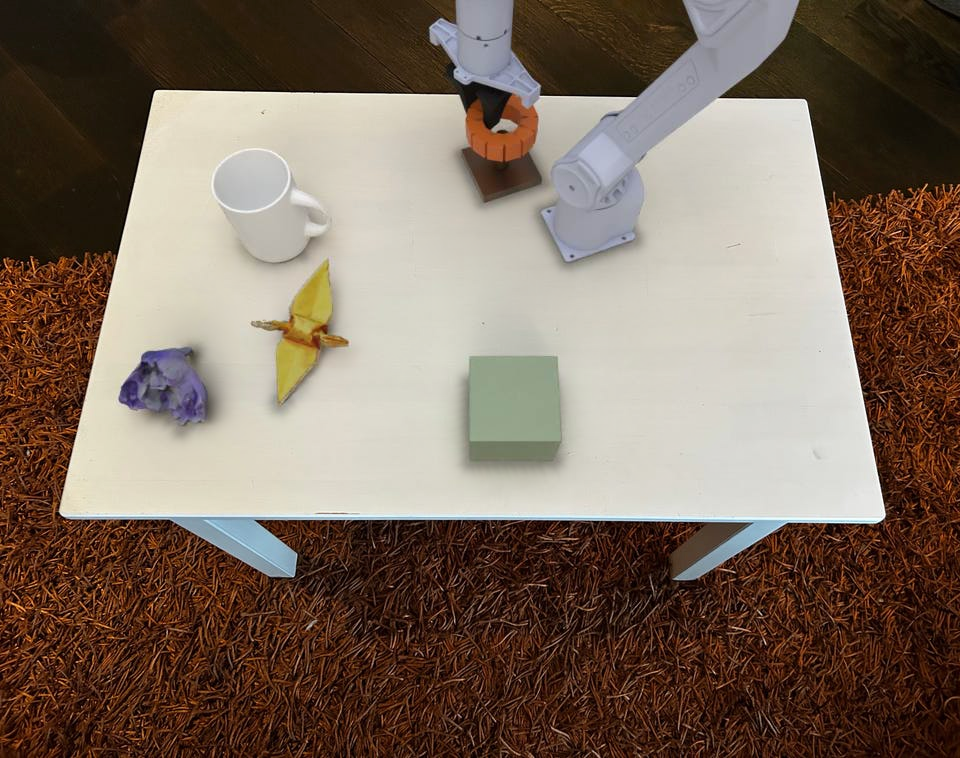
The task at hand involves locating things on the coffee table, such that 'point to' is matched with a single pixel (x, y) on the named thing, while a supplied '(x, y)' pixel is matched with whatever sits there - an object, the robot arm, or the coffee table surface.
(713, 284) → the coffee table surface
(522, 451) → the block
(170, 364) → the purple lumpy chunk
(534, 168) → the stand
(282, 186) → the mug
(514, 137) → the ring
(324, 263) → the origami crane
